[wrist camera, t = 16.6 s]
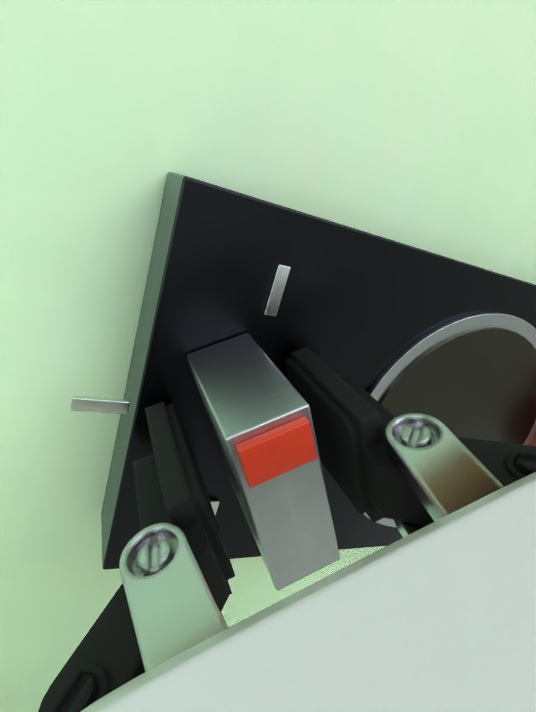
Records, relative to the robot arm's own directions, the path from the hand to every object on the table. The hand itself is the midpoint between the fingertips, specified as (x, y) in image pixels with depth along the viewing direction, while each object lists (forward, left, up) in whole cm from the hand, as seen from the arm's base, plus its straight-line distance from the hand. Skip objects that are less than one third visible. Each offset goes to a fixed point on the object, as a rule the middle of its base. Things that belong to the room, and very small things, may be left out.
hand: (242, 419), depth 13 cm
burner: (+9, 0, 0) cm, 9 cm away
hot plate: (+5, 0, -3) cm, 6 cm away
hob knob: (0, 0, 0) cm, 0 cm away
